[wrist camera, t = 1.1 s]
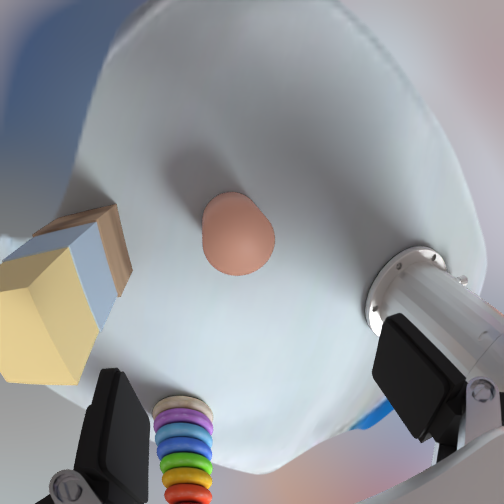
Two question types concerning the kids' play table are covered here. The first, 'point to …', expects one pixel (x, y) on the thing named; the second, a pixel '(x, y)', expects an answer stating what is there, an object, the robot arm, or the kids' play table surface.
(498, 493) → the robot arm
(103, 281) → the tower mid
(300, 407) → the kids' play table surface
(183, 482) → the stacking toy
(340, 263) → the kids' play table surface
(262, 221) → the cylinder
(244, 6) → the kids' play table surface
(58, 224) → the tower base
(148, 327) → the kids' play table surface
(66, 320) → the tower top
